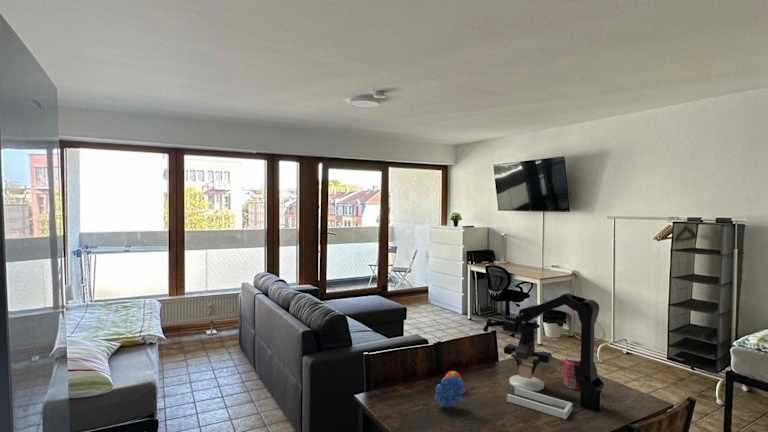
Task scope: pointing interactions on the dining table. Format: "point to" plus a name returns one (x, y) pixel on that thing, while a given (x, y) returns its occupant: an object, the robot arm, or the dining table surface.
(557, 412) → the channel
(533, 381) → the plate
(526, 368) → the block
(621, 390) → the dining table surface
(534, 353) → the robot arm
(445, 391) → the grapes
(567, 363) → the soda can
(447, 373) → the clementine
